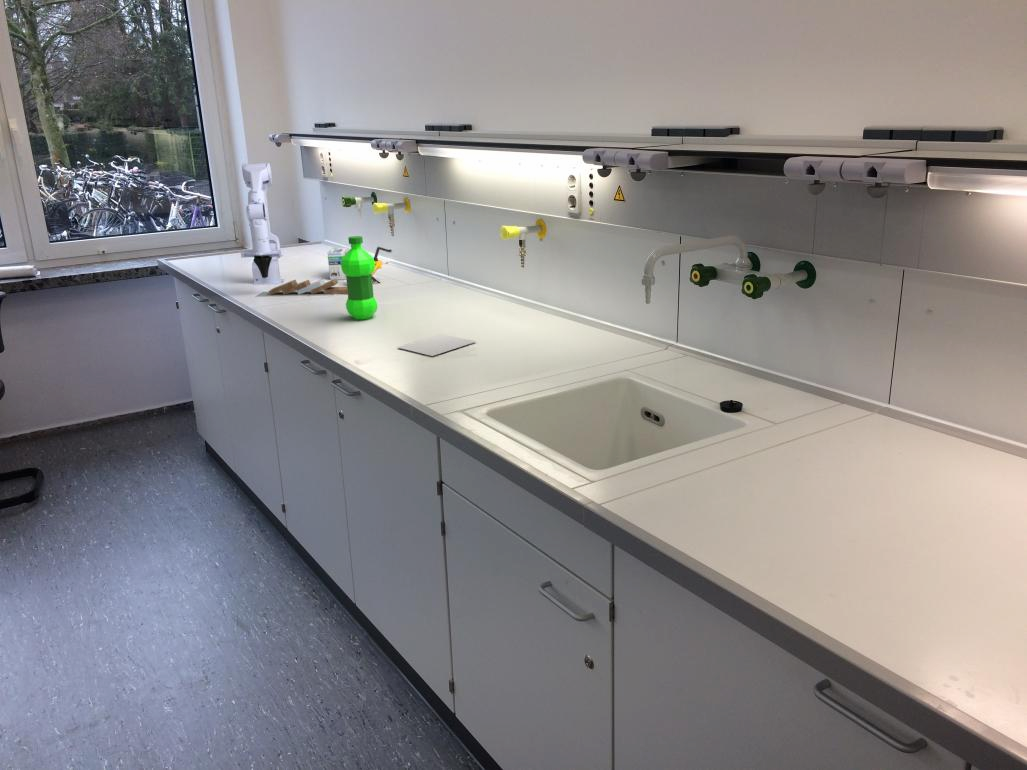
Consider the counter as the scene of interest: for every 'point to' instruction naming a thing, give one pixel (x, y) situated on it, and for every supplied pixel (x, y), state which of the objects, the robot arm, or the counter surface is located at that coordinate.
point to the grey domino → (311, 287)
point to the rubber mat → (292, 294)
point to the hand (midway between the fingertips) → (265, 277)
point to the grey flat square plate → (436, 344)
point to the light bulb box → (336, 263)
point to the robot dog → (378, 261)
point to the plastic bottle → (359, 280)
